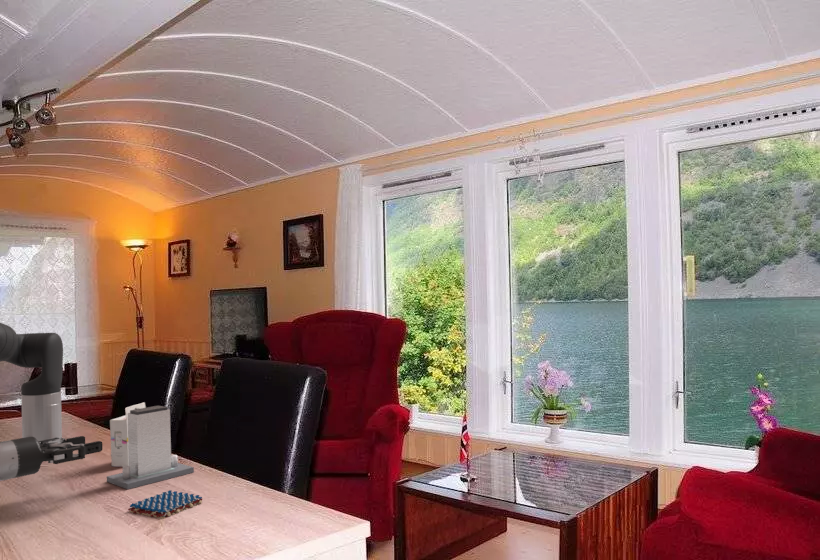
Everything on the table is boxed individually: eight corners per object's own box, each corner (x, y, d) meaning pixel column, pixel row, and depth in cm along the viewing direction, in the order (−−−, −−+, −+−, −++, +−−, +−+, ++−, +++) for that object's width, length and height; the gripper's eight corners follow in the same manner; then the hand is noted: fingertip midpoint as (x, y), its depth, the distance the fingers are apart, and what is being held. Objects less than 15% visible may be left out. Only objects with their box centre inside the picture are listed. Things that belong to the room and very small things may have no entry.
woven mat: (125, 514, 126) (124, 504, 126) (168, 498, 135) (168, 489, 135) (162, 522, 121) (162, 511, 121) (205, 505, 130) (204, 495, 130)
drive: (128, 474, 148) (127, 410, 148) (161, 466, 154) (160, 405, 154) (138, 477, 145) (136, 412, 145) (171, 469, 151) (169, 406, 152)
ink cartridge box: (131, 457, 169) (130, 401, 169) (148, 458, 168) (147, 401, 168) (110, 466, 160) (108, 407, 161) (127, 467, 159) (126, 407, 160)
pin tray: (127, 489, 140) (127, 472, 141) (106, 481, 147) (106, 465, 147) (193, 472, 153) (193, 456, 153) (171, 465, 159) (171, 450, 159)
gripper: (22, 445, 123) (107, 429, 136) (-4, 436, 132) (78, 422, 145) (23, 484, 123) (108, 465, 135) (-3, 472, 132) (79, 455, 145)
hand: (92, 443), depth 140 cm, fingers open, 8 cm apart
